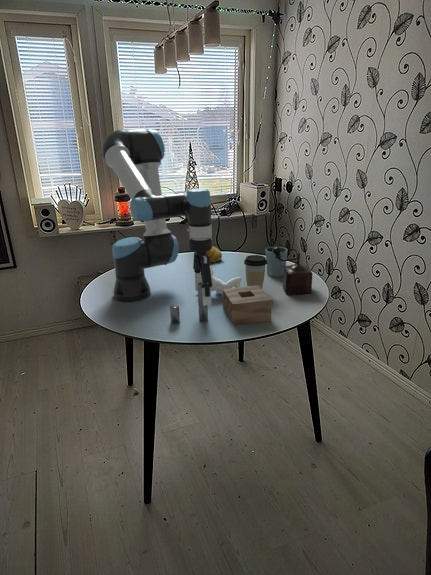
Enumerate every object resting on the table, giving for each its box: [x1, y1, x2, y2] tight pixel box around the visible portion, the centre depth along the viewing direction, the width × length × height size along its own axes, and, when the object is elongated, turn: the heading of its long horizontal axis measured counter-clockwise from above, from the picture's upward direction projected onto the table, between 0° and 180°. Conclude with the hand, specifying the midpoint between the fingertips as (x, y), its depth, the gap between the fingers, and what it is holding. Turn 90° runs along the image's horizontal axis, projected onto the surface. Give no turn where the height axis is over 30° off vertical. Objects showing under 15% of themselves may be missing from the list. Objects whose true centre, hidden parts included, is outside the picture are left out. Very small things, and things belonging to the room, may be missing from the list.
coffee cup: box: [243, 254, 267, 290], centre depth 156 cm, size 9×9×15 cm
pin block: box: [222, 285, 273, 326], centre depth 138 cm, size 14×14×8 cm
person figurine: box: [207, 266, 242, 295], centre depth 154 cm, size 13×13×18 cm
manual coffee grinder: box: [272, 246, 313, 296], centre depth 157 cm, size 16×11×18 cm
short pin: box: [169, 304, 181, 325], centre depth 134 cm, size 3×3×6 cm
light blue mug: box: [264, 246, 288, 278], centre depth 176 cm, size 10×10×12 cm
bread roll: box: [206, 245, 223, 263], centre depth 199 cm, size 13×10×8 cm
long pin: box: [197, 282, 209, 323], centre depth 133 cm, size 3×3×14 cm
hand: (203, 297), depth 132 cm, fingers open, 13 cm apart
